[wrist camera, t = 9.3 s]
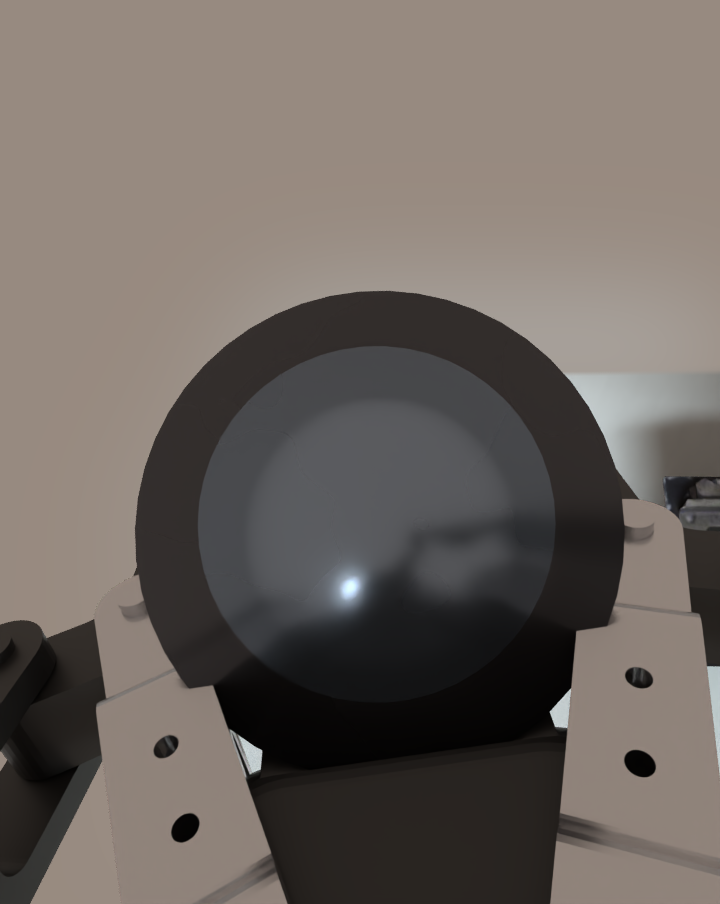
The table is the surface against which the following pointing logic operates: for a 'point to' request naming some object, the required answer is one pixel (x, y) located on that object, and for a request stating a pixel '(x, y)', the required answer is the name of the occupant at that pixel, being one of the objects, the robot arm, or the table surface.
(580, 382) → the table surface
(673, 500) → the vintage camera
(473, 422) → the lens
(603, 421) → the table surface
